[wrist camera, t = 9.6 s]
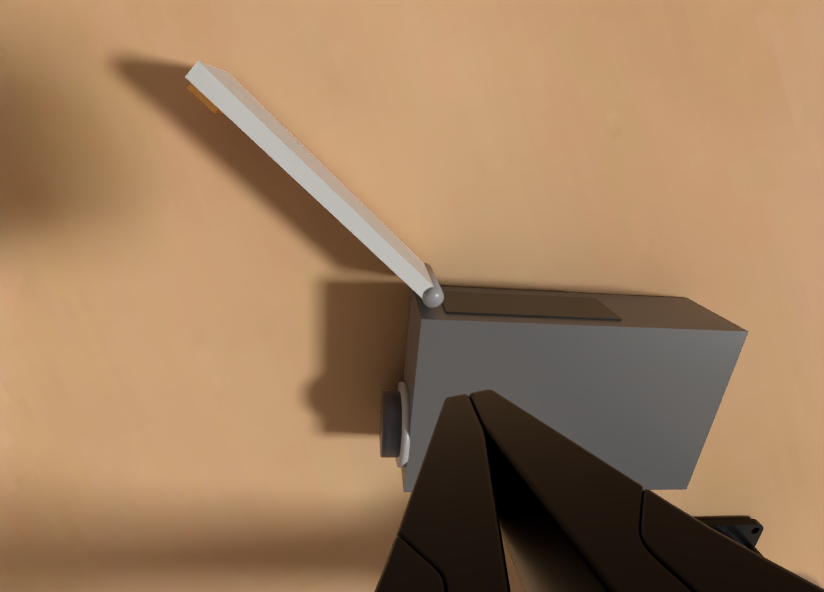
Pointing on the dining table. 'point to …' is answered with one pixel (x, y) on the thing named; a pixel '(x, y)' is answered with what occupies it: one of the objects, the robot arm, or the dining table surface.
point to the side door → (311, 176)
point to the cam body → (570, 373)
